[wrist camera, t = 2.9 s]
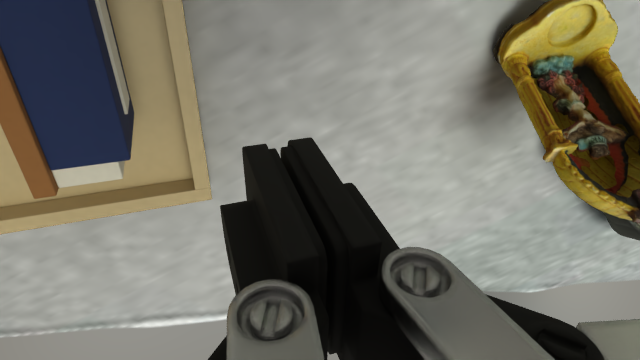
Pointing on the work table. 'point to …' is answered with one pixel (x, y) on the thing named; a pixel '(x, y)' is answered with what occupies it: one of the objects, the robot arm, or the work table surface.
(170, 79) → the boot tray
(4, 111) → the brown matchbox
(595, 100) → the shrine
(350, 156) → the work table surface
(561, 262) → the work table surface
